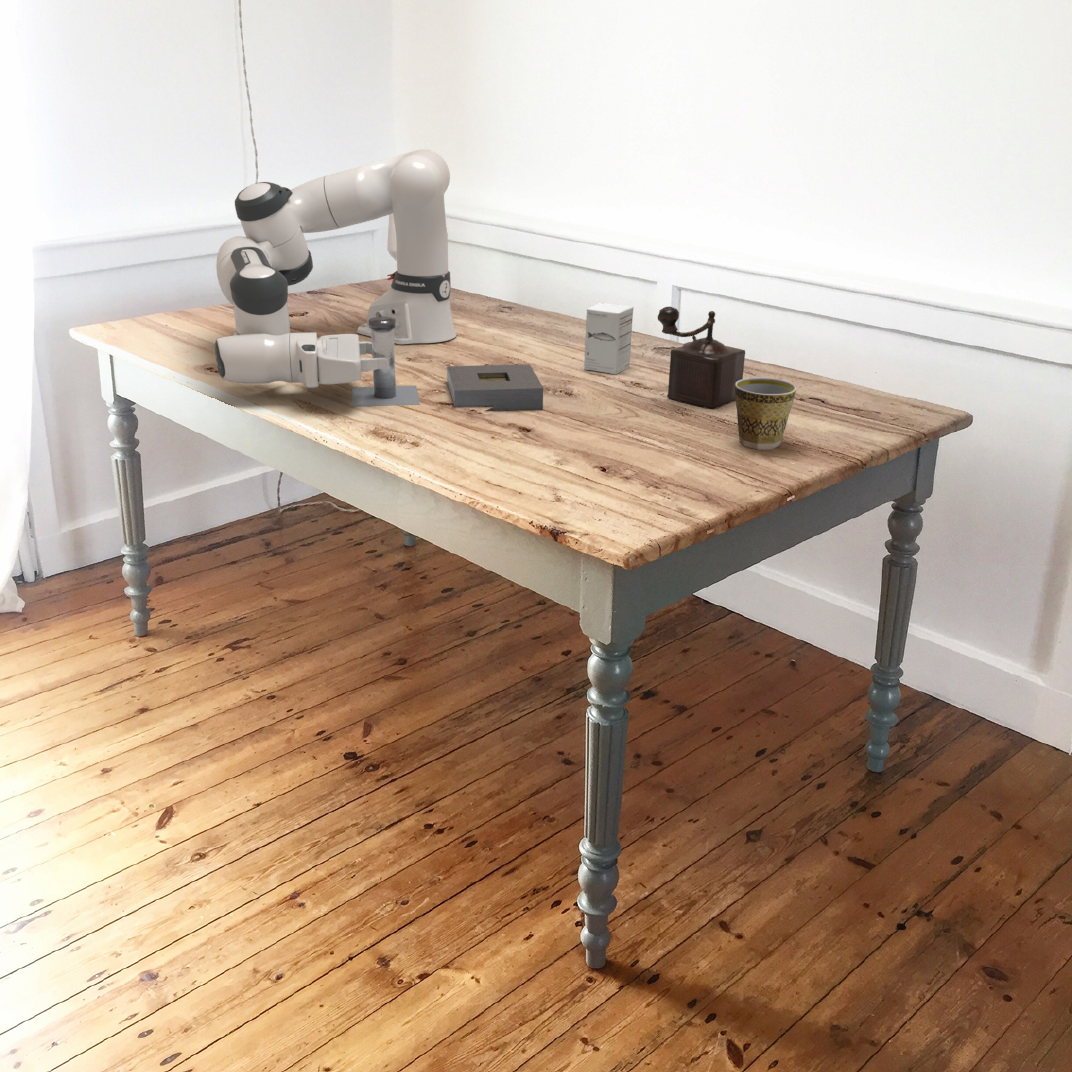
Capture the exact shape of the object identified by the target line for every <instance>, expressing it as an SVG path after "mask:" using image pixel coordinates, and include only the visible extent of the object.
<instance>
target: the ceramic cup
mask: <svg viewBox="0 0 1072 1072" xmlns="http://www.w3.org/2000/svg"><path fill="white" fill-rule="evenodd" d="M796 392H797V386H795V385H794V384H793V383H791V382H788V381H785V380H783V379H778V378H771V377H747V378H743V379H742V380H739V381H737V382H736V383H735V401H734V402H735V406H736V417H737V427H738V428H737V430H738V431H737V432H738V439H739V442H740V443H741V444H742V445H743V447H745V448H749V449H754V450H759V451H761V450H766V451H767V450H775V448H777V447H779V446H780V445H781V442H782V439H783V437H784V433H785V431H786V427H787V423H788V420H789V415H790V413H791V410H792V408H793V404H794V400H795V397H796Z"/></svg>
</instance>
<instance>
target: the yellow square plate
mask: <svg viewBox="0 0 1072 1072" xmlns="http://www.w3.org/2000/svg"><path fill="white" fill-rule="evenodd" d="M479 380H480V382H484V381H506V378H488V379H479Z"/></svg>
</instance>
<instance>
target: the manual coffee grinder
mask: <svg viewBox="0 0 1072 1072" xmlns="http://www.w3.org/2000/svg"><path fill="white" fill-rule="evenodd" d="M707 315H708V318H707V321H706V323H705V324H703V325H702V326H701V327H699V328H698V327H697V328H696V329H695V330H692V331H688V332H687V331H686V332H684V331H683V332H680V331H678V327H677V325H676V323H677V321H678V320H679V317H680V312H679V310H678V309H677V308H676V307H673V306H665V307H663V308H661V309H659V312H658V315H657V320H658V322H659V323H660V324H661V325H662V330H661V333H663V334H665V335H671V336H674V337H675V336H676V337H680V338H690V337H691V338H692V341H688V342H686V343H683V345H682V346H680V347H679V346H678V347H675V348H673V349H671V350H670V361H669V374H668V375H669V376H668V387H667V388H668V390H667V395H666V398H669V399H671V400H674V401H677V402H680V403H683V404H686V405H691V406H695V407H698V408H699V407H700V408H704V409H709V410H714V409H719V408H721V407H724V406H726V405H728V404H730V403H733V402H736V401H735V383H736V382H737V381H739V380H742V379H744V378H743V377H744V367H745V357H746V350H745V349H742V348H739V347H737V348H736V347H733V346H728V345H725V344H724V343H723V342H721V341H719V340H716V339H714V337H713V329H714V324H716V319H715V317H716V312H715V311H713V310H710V311H708V314H707ZM706 330H707V334H706V337H701V338H697V337H696V336H697V335H699V334H700V333H702V332H704V331H706ZM732 401H733V402H732Z"/></svg>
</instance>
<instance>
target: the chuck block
mask: <svg viewBox="0 0 1072 1072" xmlns="http://www.w3.org/2000/svg"><path fill="white" fill-rule="evenodd" d="M488 378H506V381H484V382H480V380H479V379H488ZM446 384H447V386H448V390H449V392H450V396H451V399H452V402H453V407H454V408H465V407H468V408H470V407H471V408H472V407H491V408H488V409H485V412H504V411H505V412H507V411H508V412H509V411H533V410H534V411H536V410H537V411H541V410H543V409H544V387H543V385H542V384H541V382H540V379H539V378H538V376H537V373H535V370H534V369H533V366H532V365H531V364H530V363H529V364H528V363H526V364H493V365H492V364H490V365H487V364H484V365H483V364H482V365H449V366H448V365H447V366H446Z"/></svg>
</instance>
